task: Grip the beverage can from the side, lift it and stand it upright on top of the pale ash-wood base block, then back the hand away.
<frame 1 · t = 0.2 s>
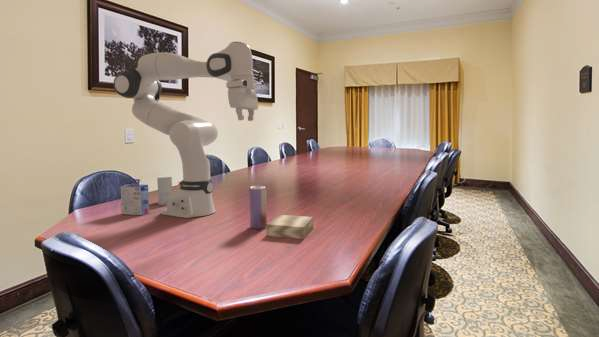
hand: (246, 120, 142), 39 cm above the table, tool pointing down, fingers open, 8 cm apart
ink cartridge box: (136, 214, 154), on the table
beverage can: (258, 227, 133), on the table
ash base block: (290, 231, 127), on the table
small box: (165, 203, 173), on the table
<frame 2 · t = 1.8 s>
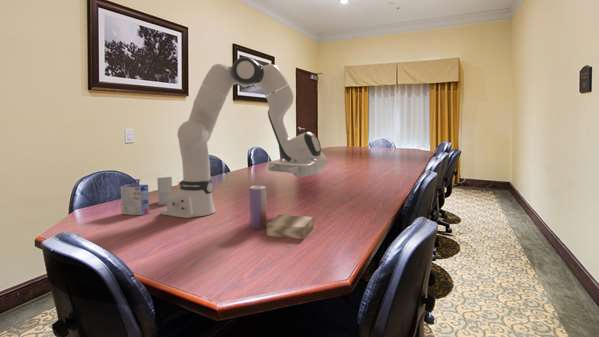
hand: (278, 169, 140), 20 cm above the table, tool horizontal, fingers open, 8 cm apart
nothing on the table moved.
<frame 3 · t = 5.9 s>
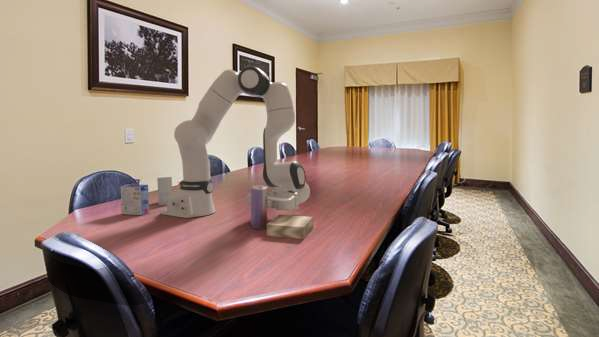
hand: (256, 204, 131), 9 cm above the table, tool horizontal, fingers closed on beverage can, 2 cm apart
beverage can: (258, 227, 133), on the table, touching gripper
everything else where it was.
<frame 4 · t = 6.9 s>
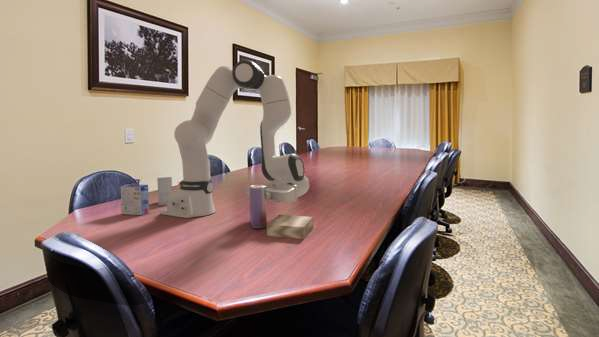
hand: (255, 196, 130), 12 cm above the table, tool horizontal, fingers closed on beverage can, 2 cm apart
beverage can: (258, 226, 132), on the table, touching gripper
everything else where it was.
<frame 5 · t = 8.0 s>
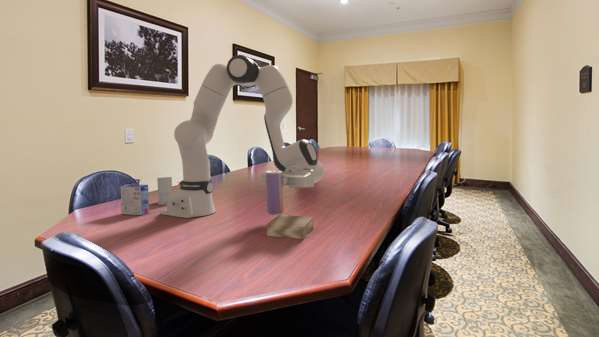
hand: (271, 182, 127), 17 cm above the table, tool horizontal, fingers closed on beverage can, 2 cm apart
beverage can: (275, 213, 129), point 6 cm above the table, touching gripper
everything else where it was.
when the fingers open (15 cm above the table, at t = 9.0 s): beverage can stays where it is, resting on ash base block.
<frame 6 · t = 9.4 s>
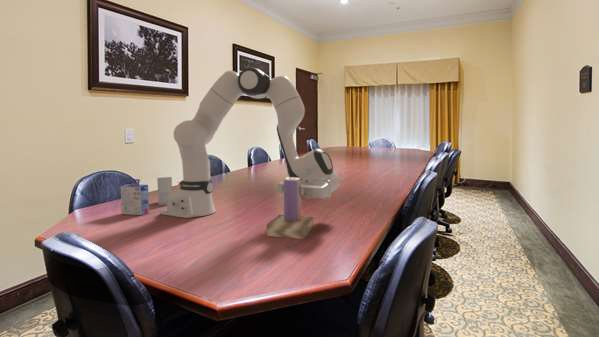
hand: (288, 192, 125), 14 cm above the table, tool horizontal, fingers closed
beverage can: (292, 221, 126), point 4 cm above the table, touching ash base block
everything else where it was.
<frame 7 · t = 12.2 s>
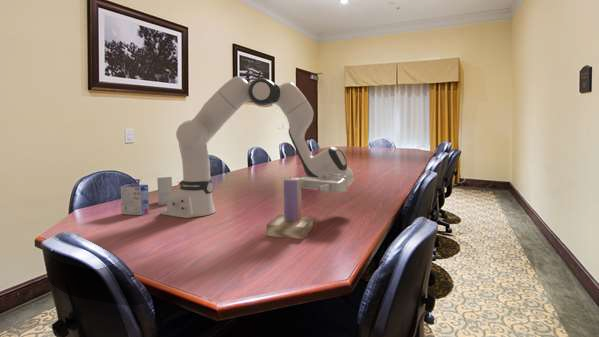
hand: (308, 187, 134), 14 cm above the table, tool horizontal, fingers open, 8 cm apart
nothing on the table moved.
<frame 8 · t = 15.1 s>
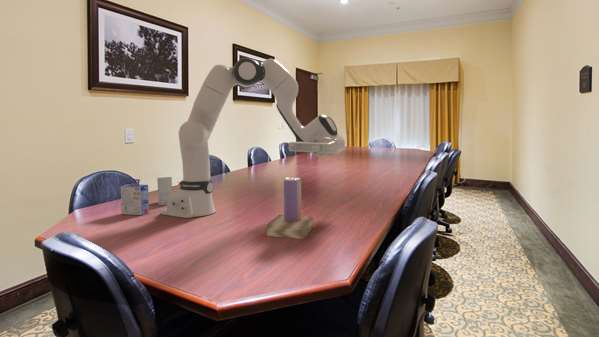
hand: (300, 148, 140), 28 cm above the table, tool horizontal, fingers open, 8 cm apart
nothing on the table moved.
at the end: beverage can inside the target area on the ash base block (0.7 cm from its centre), point 3.8 cm above the ash base block's base; beverage can tilted 0°; the gripper is holding nothing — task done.
